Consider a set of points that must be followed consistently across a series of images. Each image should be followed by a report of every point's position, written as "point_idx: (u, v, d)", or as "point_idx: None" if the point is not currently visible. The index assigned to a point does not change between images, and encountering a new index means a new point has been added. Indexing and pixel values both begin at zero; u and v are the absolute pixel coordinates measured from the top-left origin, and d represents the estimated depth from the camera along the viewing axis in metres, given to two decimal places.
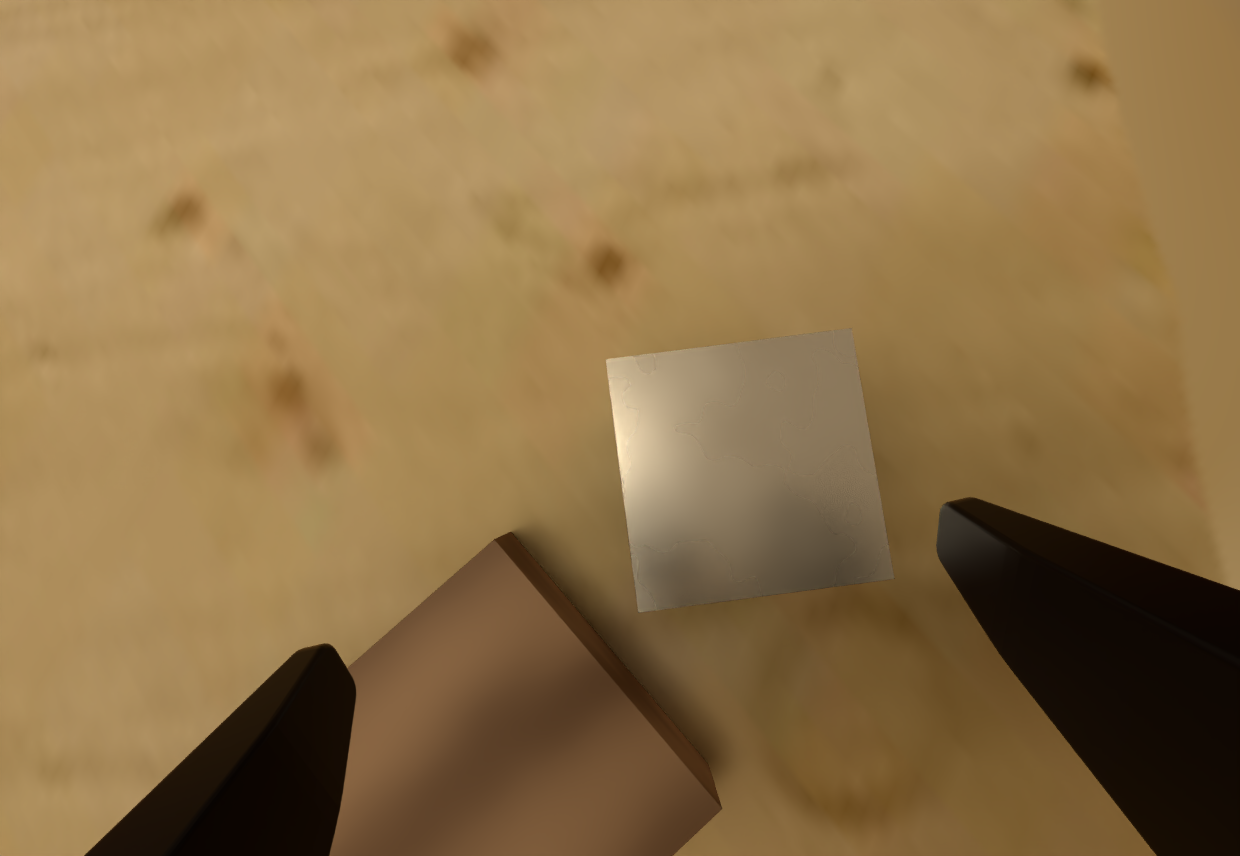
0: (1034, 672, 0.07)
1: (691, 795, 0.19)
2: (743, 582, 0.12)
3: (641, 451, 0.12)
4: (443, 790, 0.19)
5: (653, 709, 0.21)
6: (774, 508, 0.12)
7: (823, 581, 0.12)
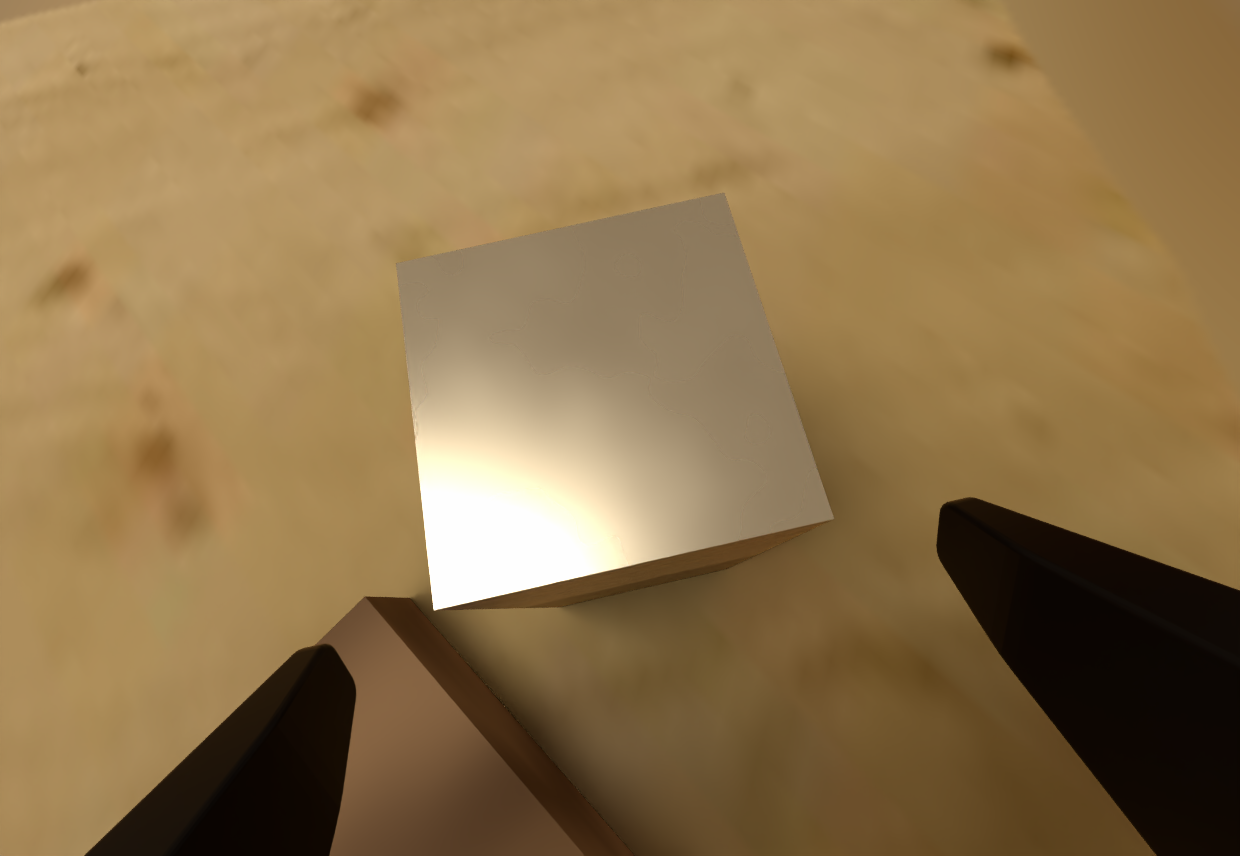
0: (1034, 672, 0.07)
1: None
2: (597, 546, 0.08)
3: (442, 373, 0.08)
4: None
5: (596, 830, 0.15)
6: (638, 432, 0.08)
7: (722, 533, 0.08)
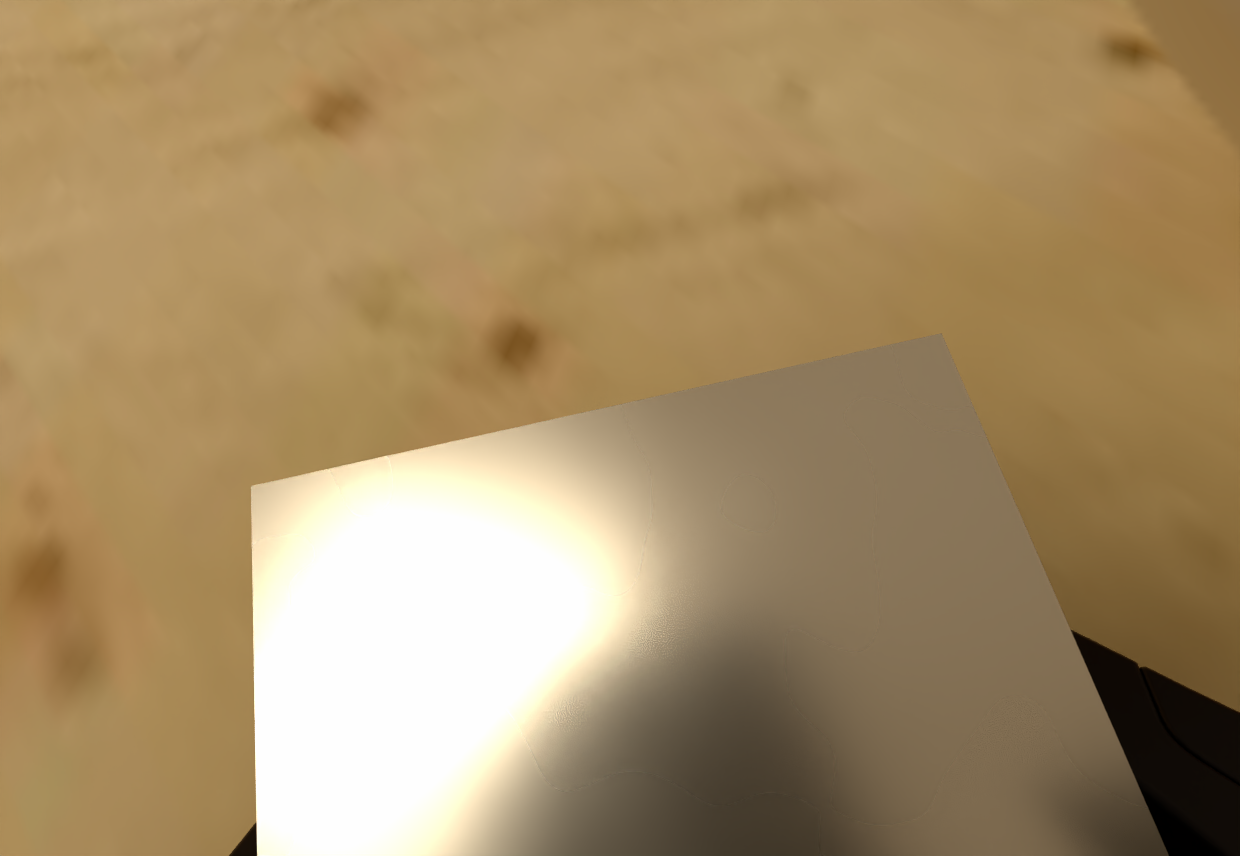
0: None
1: None
2: None
3: (334, 777, 0.04)
4: None
5: None
6: None
7: None
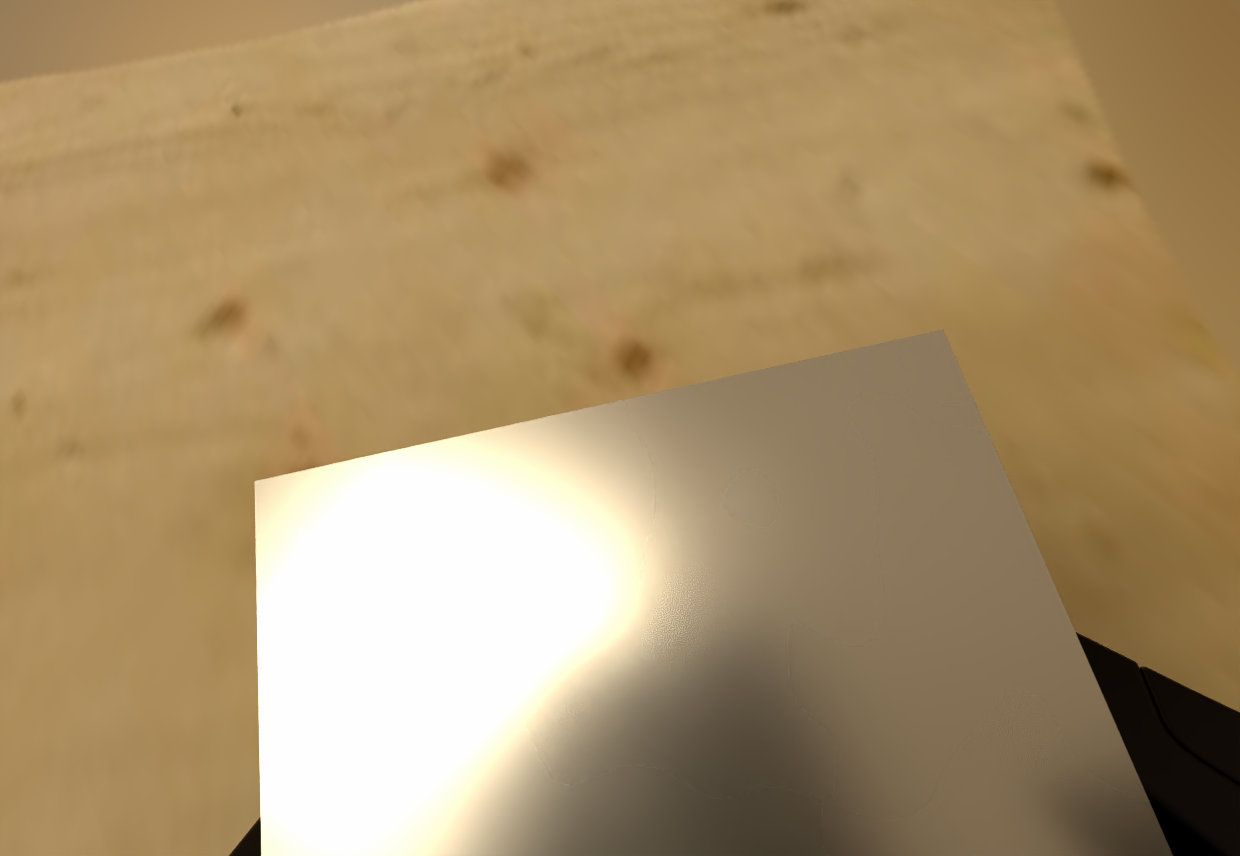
0: None
1: None
2: None
3: (336, 771, 0.04)
4: None
5: None
6: None
7: None
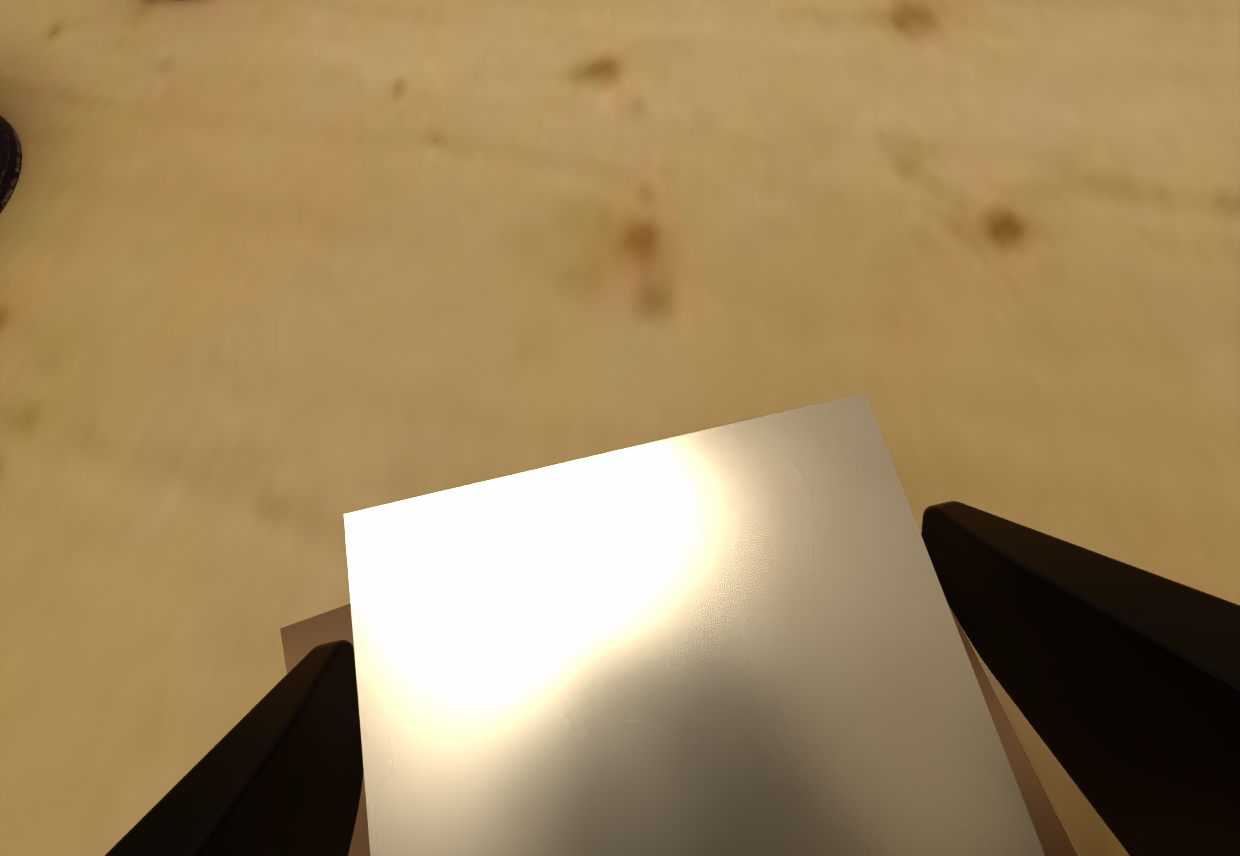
0: (1014, 677, 0.07)
1: (1042, 829, 0.14)
2: None
3: (418, 729, 0.05)
4: None
5: None
6: None
7: None
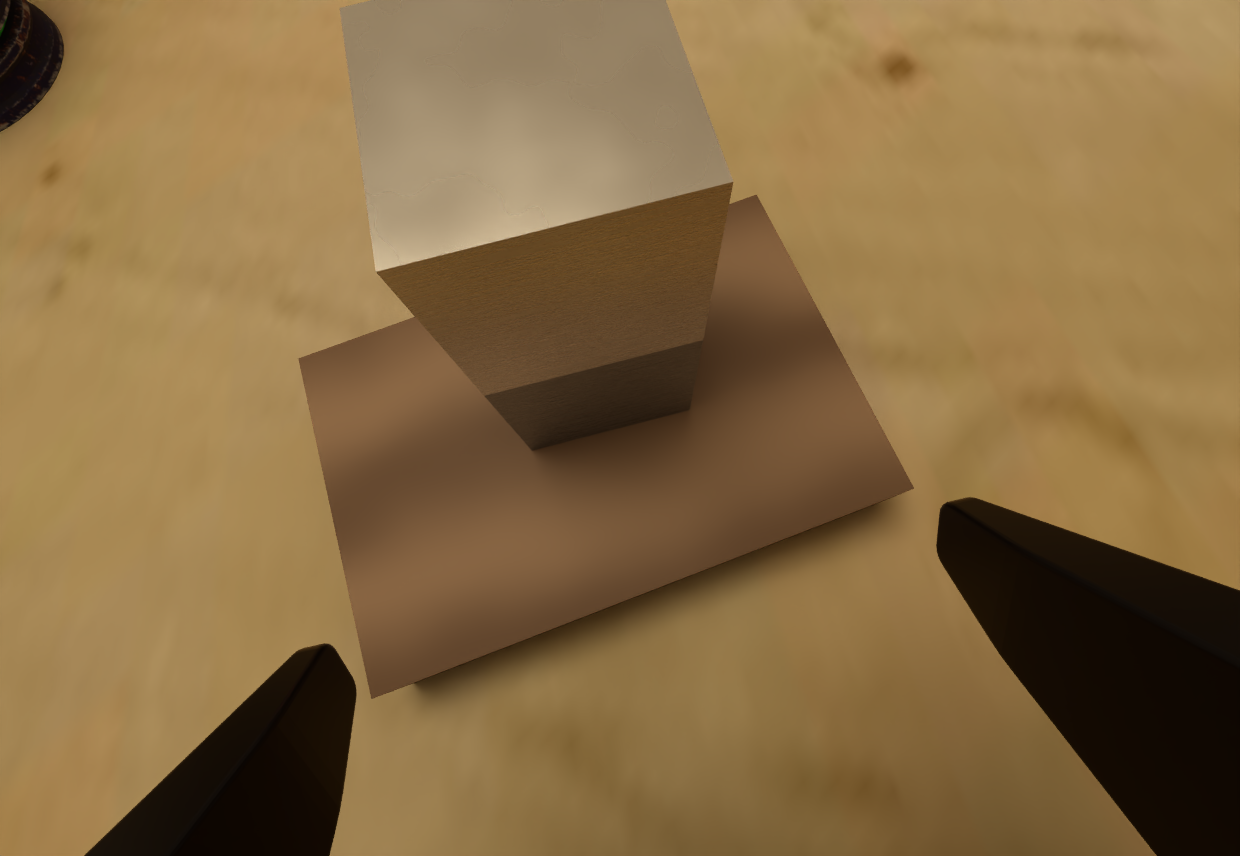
0: (1034, 672, 0.07)
1: (884, 464, 0.18)
2: (521, 214, 0.08)
3: (382, 92, 0.09)
4: None
5: None
6: (559, 126, 0.09)
7: (633, 198, 0.08)
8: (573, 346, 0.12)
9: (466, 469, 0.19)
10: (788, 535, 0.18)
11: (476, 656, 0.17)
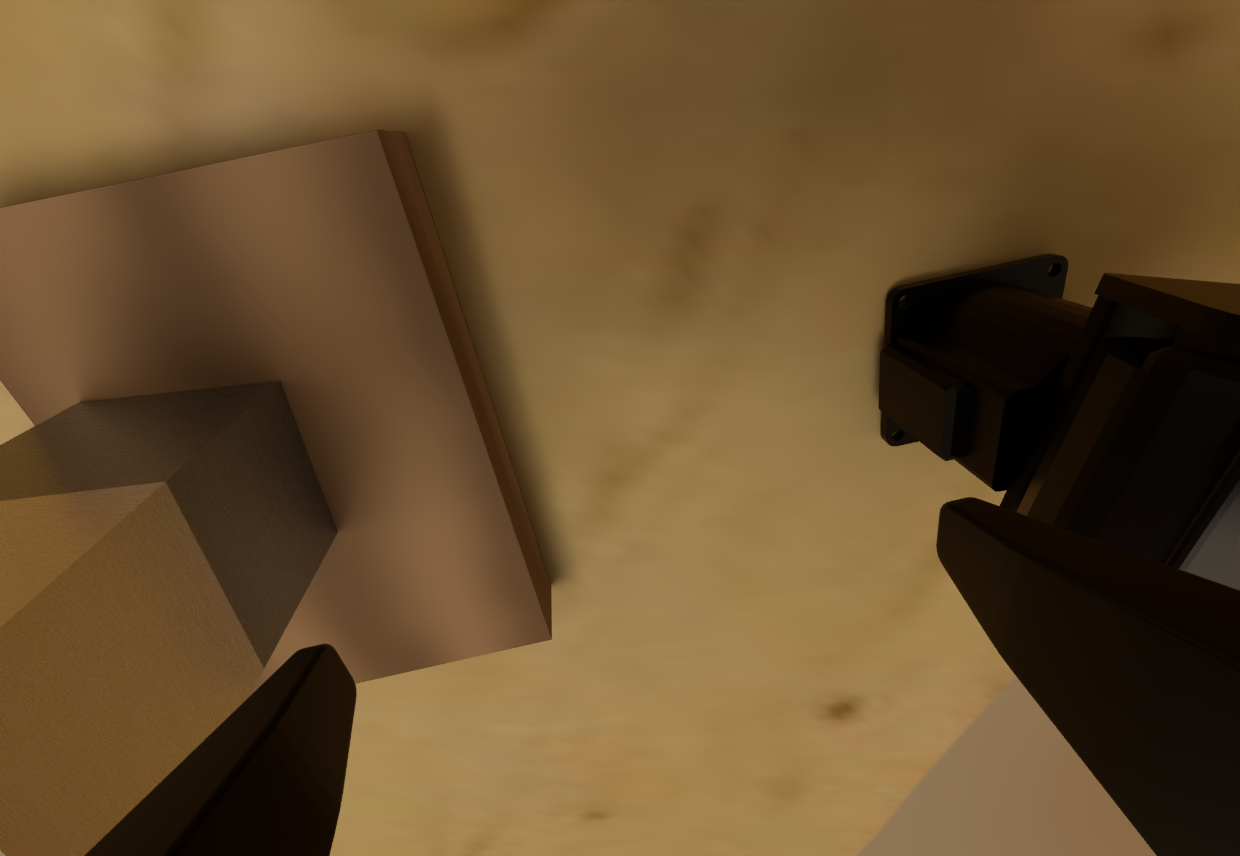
0: (1034, 672, 0.07)
1: (344, 160, 0.14)
2: None
3: None
4: None
5: None
6: None
7: None
8: (189, 643, 0.11)
9: (359, 583, 0.20)
10: (433, 300, 0.16)
11: (528, 576, 0.20)
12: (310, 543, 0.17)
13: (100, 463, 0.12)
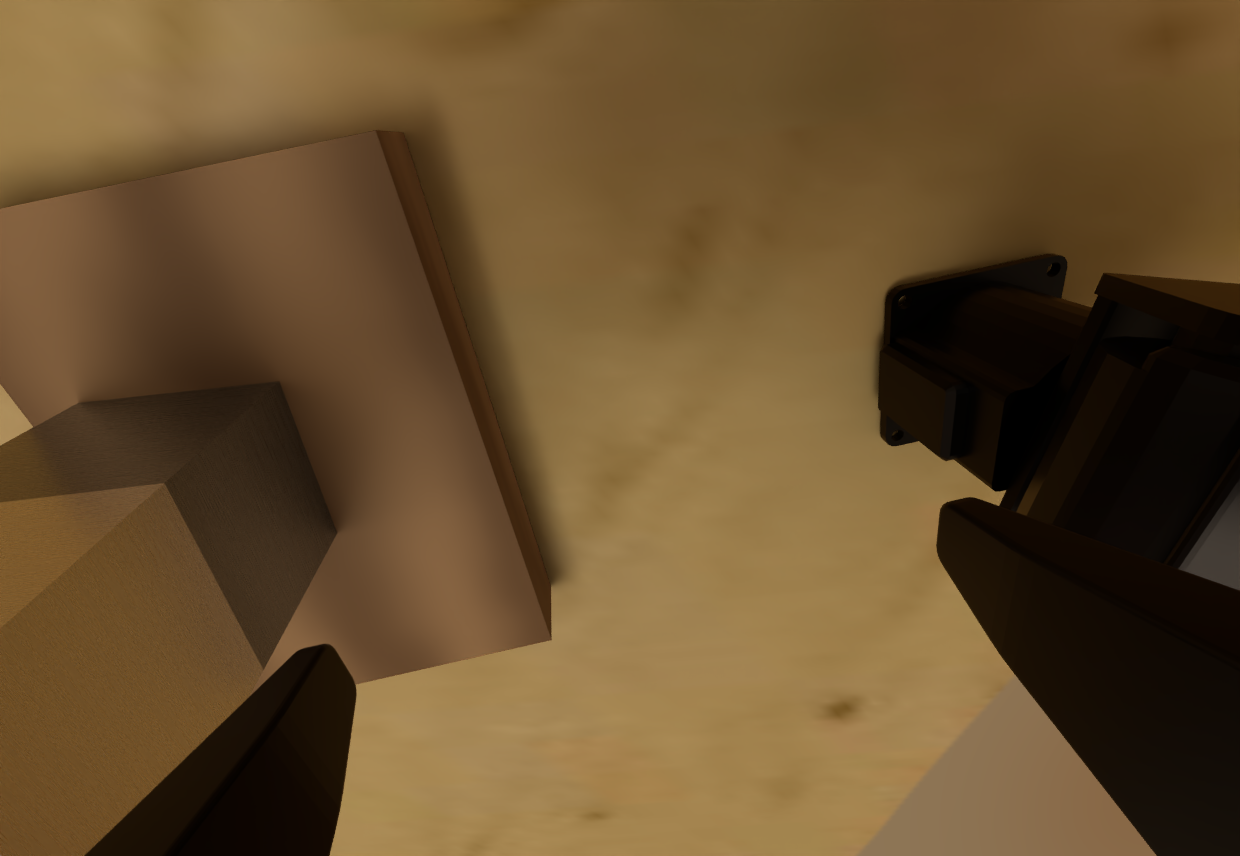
0: (1034, 672, 0.07)
1: (343, 160, 0.14)
2: None
3: None
4: None
5: None
6: None
7: None
8: (189, 645, 0.11)
9: (358, 584, 0.20)
10: (432, 301, 0.16)
11: (528, 576, 0.20)
12: (309, 544, 0.17)
13: (98, 464, 0.12)
